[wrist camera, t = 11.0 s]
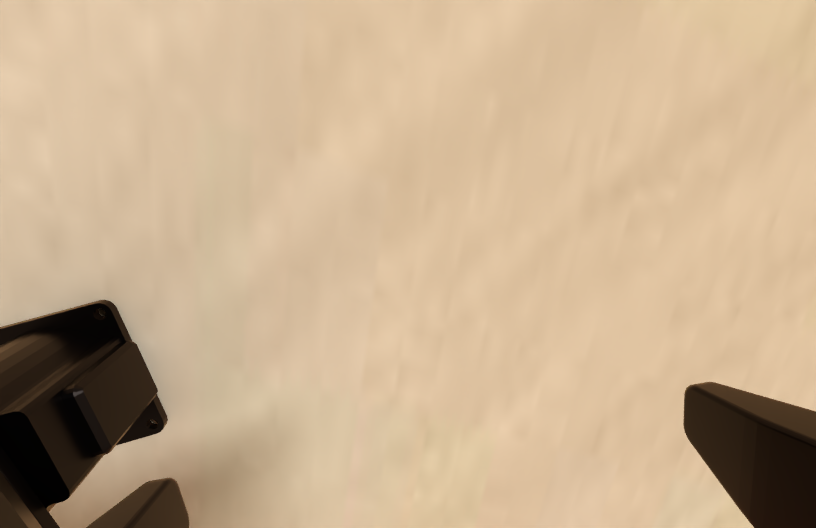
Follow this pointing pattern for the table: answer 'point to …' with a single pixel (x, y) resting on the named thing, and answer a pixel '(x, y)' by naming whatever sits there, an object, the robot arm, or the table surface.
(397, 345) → the table surface
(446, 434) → the table surface
